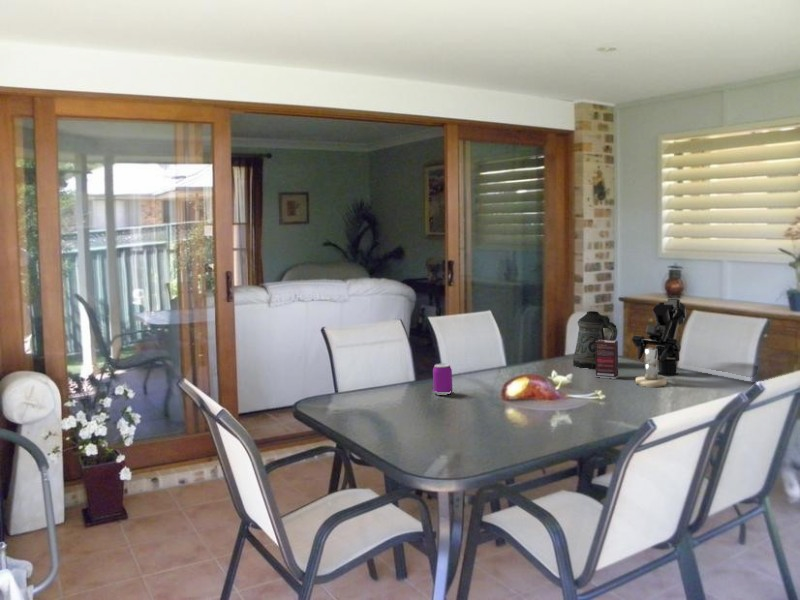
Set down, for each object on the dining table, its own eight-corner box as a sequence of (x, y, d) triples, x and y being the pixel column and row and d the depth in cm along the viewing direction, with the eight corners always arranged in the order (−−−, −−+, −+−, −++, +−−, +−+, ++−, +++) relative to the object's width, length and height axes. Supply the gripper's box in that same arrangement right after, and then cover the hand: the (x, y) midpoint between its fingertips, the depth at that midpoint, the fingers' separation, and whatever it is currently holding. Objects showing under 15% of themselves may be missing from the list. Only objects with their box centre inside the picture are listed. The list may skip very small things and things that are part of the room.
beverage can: (451, 396, 292) (450, 367, 291) (432, 396, 294) (431, 367, 292) (453, 391, 300) (452, 363, 298) (435, 391, 301) (434, 363, 300)
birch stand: (629, 383, 302) (629, 378, 301) (650, 378, 307) (650, 374, 307) (651, 388, 291) (651, 383, 291) (673, 384, 296) (673, 379, 296)
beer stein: (570, 362, 346) (569, 309, 343) (612, 361, 344) (612, 308, 341) (575, 369, 330) (574, 314, 327) (619, 368, 328) (619, 313, 325)
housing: (642, 378, 300) (642, 348, 298) (650, 376, 302) (650, 347, 301) (651, 380, 296) (651, 350, 294) (660, 379, 298) (660, 348, 296)
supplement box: (618, 377, 313) (618, 340, 311) (615, 379, 309) (615, 342, 307) (598, 375, 317) (598, 339, 315) (595, 377, 313) (594, 341, 311)
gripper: (634, 316, 305) (621, 346, 299) (677, 319, 292) (665, 351, 286) (642, 331, 312) (630, 361, 305) (686, 335, 299) (674, 367, 292)
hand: (649, 360), depth 297 cm, fingers open, 9 cm apart
